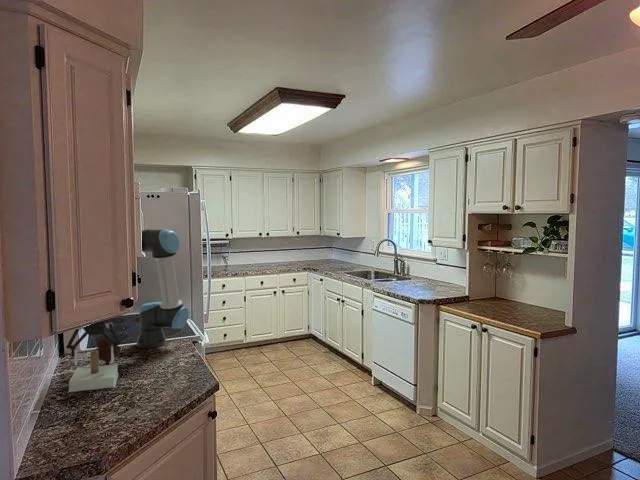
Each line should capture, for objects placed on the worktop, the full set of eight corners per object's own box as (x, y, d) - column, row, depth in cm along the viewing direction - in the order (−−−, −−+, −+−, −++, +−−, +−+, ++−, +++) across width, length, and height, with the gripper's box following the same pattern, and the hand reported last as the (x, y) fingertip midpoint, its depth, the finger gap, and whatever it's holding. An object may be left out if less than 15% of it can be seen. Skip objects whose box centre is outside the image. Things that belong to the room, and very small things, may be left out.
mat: (119, 373, 190) (119, 372, 190) (115, 388, 174) (115, 386, 174) (75, 378, 184) (75, 376, 184) (67, 393, 169) (67, 392, 169)
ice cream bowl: (110, 374, 190) (110, 341, 189) (88, 372, 192) (88, 339, 191) (125, 366, 200) (125, 334, 199) (104, 364, 202) (104, 333, 202)
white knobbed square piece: (117, 373, 190) (117, 344, 189) (113, 386, 175) (113, 355, 174) (76, 377, 184) (76, 347, 184) (69, 391, 169) (68, 359, 169)
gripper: (57, 316, 170) (58, 368, 171) (126, 312, 179) (126, 362, 180) (61, 312, 177) (62, 362, 178) (127, 309, 186) (127, 357, 187)
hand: (94, 362), depth 179 cm, fingers open, 13 cm apart
